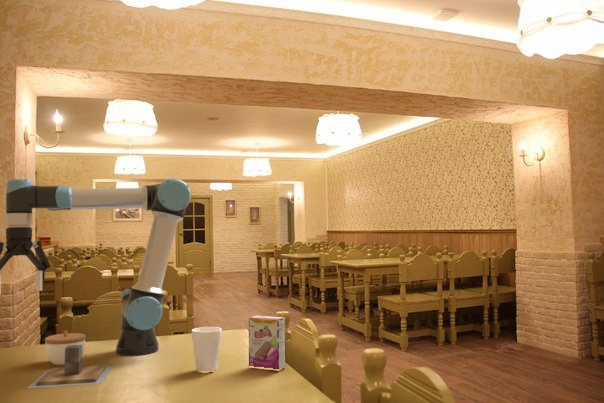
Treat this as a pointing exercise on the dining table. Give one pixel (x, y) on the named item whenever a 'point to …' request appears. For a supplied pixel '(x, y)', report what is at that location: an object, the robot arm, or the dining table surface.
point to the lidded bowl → (62, 346)
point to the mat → (99, 381)
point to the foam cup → (206, 347)
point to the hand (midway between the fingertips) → (18, 292)
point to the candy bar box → (267, 342)
